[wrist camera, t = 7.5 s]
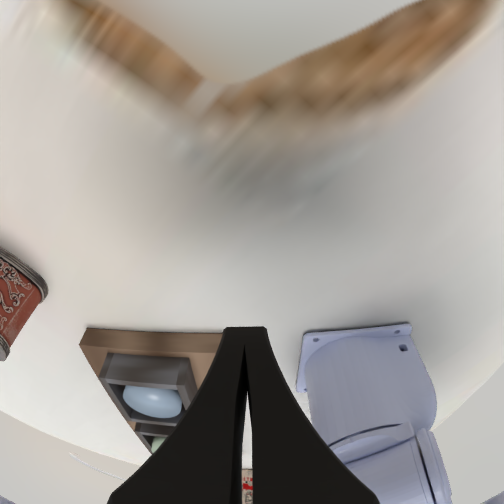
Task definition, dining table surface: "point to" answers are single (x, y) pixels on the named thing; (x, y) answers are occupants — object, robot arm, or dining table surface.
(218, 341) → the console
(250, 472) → the teacup with lid
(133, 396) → the button slate
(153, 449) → the button sage
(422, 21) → the dining table surface
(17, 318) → the lighter
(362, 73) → the dining table surface
